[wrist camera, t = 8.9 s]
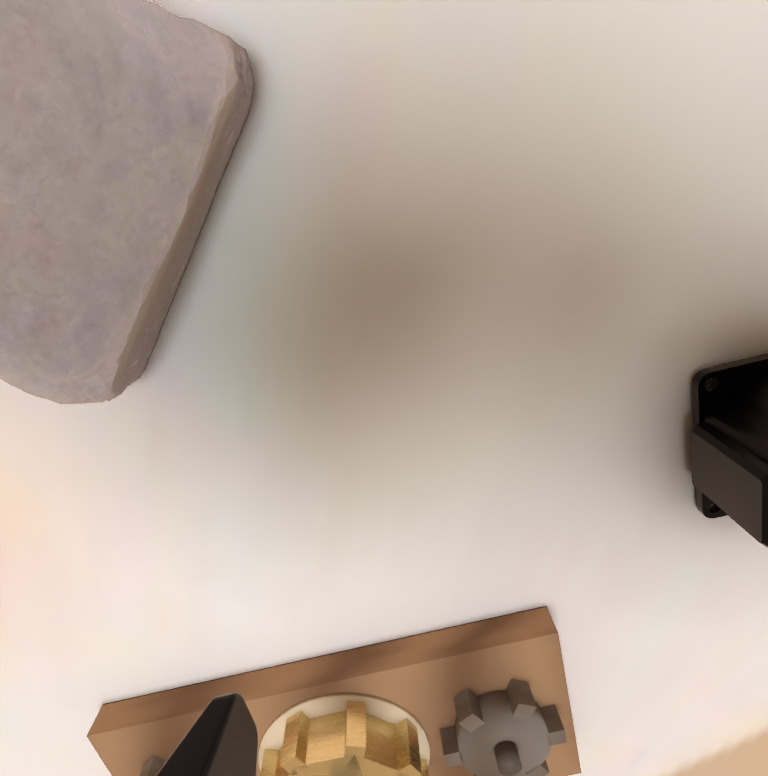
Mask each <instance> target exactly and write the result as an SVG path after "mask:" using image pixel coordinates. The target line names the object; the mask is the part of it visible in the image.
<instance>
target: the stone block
mask: <svg viewBox="0 0 768 776" xmlns="http://www.w3.org/2000/svg"><path fill="white" fill-rule="evenodd" d="M253 87H254V80H253V76H252V72H251V68H250V64H249V60H248V56H247V52H246V49H244V48H242V47H241V46H239V45H238V44H237V43H236V42H234V41H233V40H232V39H231V38H229V37H228V36H226V35H224V34H222V33H220V32H218V31H216V30H214V29H212V28H209V27H207V26H205V25H203V24H201V23H199V22H197V21H195V20H193V19H187V18H179V17H177V16H174V15H172V14H170V13H168V12H167V11H165V10H164V9H162V8H161V7H159V6H158V5H156V4H153V3H149V2H146V1H144V0H0V379H2V380H3V381H5V382H7V383H8V384H10V385H12V386H15V387H17V388H20V389H21V390H23V391H25V392H27V393H29V394H32V395H35V396H37V397H41V398H45V399H49V400H52V401H54V402H57V403H60V404H77V403H80V404H81V403H94V402H104V401H106V400H107V401H110V400H112V399H113V398H116V397H117V396H118V395H120V394H121V393H122V392H123V391H124V390H125V389H126V387H127V386H128V385H130V384H131V383H133V382H134V381H136V380H137V379H139V378H140V376H141V374H142V373H143V371H144V369H145V366H146V363H147V360H148V358H149V356H150V354H151V352H152V350H153V347H154V345H155V342H156V340H157V337H158V334H159V331H160V328H161V326H162V323H163V321H164V319H165V317H166V314H167V312H168V310H169V307H170V305H171V302H172V299H173V297H174V294H175V291H176V289H177V286H178V284H179V281H180V279H181V277H182V274H183V272H184V270H185V267H186V265H187V263H188V260H189V258H190V255H191V253H192V250H193V247H194V245H195V242H196V240H197V237H198V235H199V233H200V230H201V228H202V226H203V223H204V221H205V218H206V215H207V213H208V210H209V207H210V205H211V202H212V200H213V197H214V194H215V191H216V188H217V186H218V183H219V181H220V179H221V177H222V174H223V172H224V170H225V167H226V165H227V163H228V160H229V158H230V156H231V153H232V150H233V148H234V146H235V143H236V141H237V139H238V137H239V134H240V132H241V129H242V126H243V124H244V121H245V119H246V117H247V115H248V112H249V108H250V104H251V98H252V93H253Z"/></svg>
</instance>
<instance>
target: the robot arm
mask: <svg viewBox="0 0 768 776" xmlns="http://www.w3.org/2000/svg"><path fill="white" fill-rule="evenodd" d="M709 379H712V381H711V383H710V384H709V386H707V387H705V383H706V382H707V380H709ZM692 405H693V426H692V429H691V431H690V440H691V464H692V483H693V485H694V486H696V505H697V509H698V510H699V511H700V512H701V513H702V514H704V515H705V516H706V517H708V518H717V517H722V516H726V515H729V516H730V517H731V518H732V519H733V520H734V521H736V522H737V523H738V524H739V525H740V526H741V527H742V528H744V529H745V530H746V531H747V532H748V533H749V534H750V535H752V536H753V537H754V538H755V539H756V540H757V541H758V542H760V543H761V544H763V545H765V546H766V547H768V354H764V355H760V356H756V357H752V358H748V359H743V360H739V361H735V362H731V363H727V364H723V365H718V366H714V367H710V368H706V369H703V370H701V371H699V372H698V373H697V374H695V376H694V378H693V379H692ZM712 503H714V504H713V506H711V507H709V506H710V505H711V504H712ZM257 747H258V734H257V728H256V725H255V722H254V720H253V718H252V716H251V714H250V711H249V709H248V707H247V705H246V703H245V701H244V699H243V697H242V695H241V694H240V693H238V692H233V693H228V694H224V695H219V696H216V697H215V698H213V699H212V700H211V701H210V703H209V704H208V705H207V707H206V708H205V709H204V711H203V712H202V713H201V715H200V716H199V718H198V719H197V720H196V722H195V723H194V724H193V726H192V727H191V728H190V730H189V731H188V732H187V734H186V735H185V737H184V738H183V739H182V741H181V742H180V743H179V745H178V746H177V747H176V749H175V750H174V751H173V753H172V754H171V756H170V757H169V758H168V760H167V761H166V762H165V764H164V765H163V766H162V768H161V769H160V771H159V772H158V773H157V775H156V776H256V765H257Z"/></svg>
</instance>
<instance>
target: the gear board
mask: <svg viewBox="0 0 768 776" xmlns="http://www.w3.org/2000/svg"><path fill="white" fill-rule="evenodd" d="M233 692H238V693H240V694H241V695H242V697H243V699H244V701H245V703H246V705H247V707H248V709H249V711H250V714H251V716H252V718H253V720H254V722H255V725H256V728H257V734H258V747H257V765H256V776H260V773H261V768H262V762H263V756H264V750H265V749H276V750H279V748H280V747H281V746H282V744H283V741H284V734H285V727H286V720H287V718H289V717H291V716H292V715H294V714H296V713H297V712H299V711H302V712H303V713H304V714H305V715H307V716H308V717H309V718H314V717H319V716H324V715H328V714H333V713H337V712H342V711H346V705H347V700H349V701H363V702H366V713H368V714H370V715H373V716H375V717H378V718H380V719H383V720H385V721H388V722H390V723H393V724H397V723H399V722H401V721H403V720H404V719H406V718H407V719H408V720H409V721H410V722H411V723H412V724H413V725H414V726H415V727H416V728H417V732H418V742H419V752H420V759H427V764H428V773H429V776H568V775H573V774H578V773H581V768H580V762H579V756H578V750H577V744H576V738H575V732H574V726H573V720H572V714H571V708H570V702H569V696H568V690H567V684H566V678H565V672H564V666H563V660H562V654H561V648H560V642H559V636H558V632H557V630H556V627H555V625H554V623H553V621H552V618H551V616H550V614H549V612H548V609H547V607H542V608H538V609H533V610H529V611H524V612H519V613H515V614H510V615H506V616H501V617H497V618H492V619H488V620H483V621H479V622H474V623H470V624H465V625H461V626H456V627H452V628H447V629H443V630H438V631H434V632H429V633H425V634H420V635H416V636H411V637H407V638H402V639H398V640H393V641H389V642H384V643H380V644H375V645H371V646H366V647H362V648H357V649H353V650H348V651H344V652H339V653H335V654H330V655H326V656H321V657H317V658H312V659H308V660H303V661H299V662H294V663H290V664H285V665H281V666H276V667H272V668H267V669H263V670H258V671H254V672H249V673H245V674H240V675H236V676H231V677H227V678H222V679H217V680H213V681H208V682H204V683H199V684H195V685H190V686H186V687H181V688H177V689H172V690H168V691H163V692H159V693H154V694H150V695H145V696H141V697H136V698H132V699H127V700H123V701H118V702H114V703H109V704H105V705H102V707H101V709H100V711H99V713H98V715H97V717H96V719H95V721H94V723H93V725H92V727H91V729H90V731H89V733H88V735H87V737H88V739H89V740H90V742H91V743H92V745H93V747H94V748H95V750H96V751H97V753H98V754H99V756H100V758H101V759H102V761H103V762H104V764H105V765H106V767H107V769H108V770H109V772H110V773H111V775H112V776H156V775H157V773H158V772H159V771H160V769H161V768H162V766H163V765H164V764H165V762H166V761H167V760H168V758H169V757H170V756H171V754H172V753H173V751H174V750H175V749H176V747H177V746H178V745H179V743H180V742H181V741H182V739H183V738H184V737H185V735H186V734H187V732H188V731H189V730H190V728H191V727H192V726H193V724H194V723H195V722H196V720H197V719H198V718H199V716H200V715H201V713H202V712H203V711H204V709H205V708H206V707H207V705H208V704H209V703H210V701H211V700H212V699H213V698H215V697H216V696H219V695H224V694H228V693H233Z"/></svg>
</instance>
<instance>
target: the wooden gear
mask: <svg viewBox="0 0 768 776" xmlns="http://www.w3.org/2000/svg"><path fill="white" fill-rule="evenodd" d="M260 776H429V773H428V764H427V759H420V752H419V742H418V732H417V728H416V727H415V726H414V725H413V724H412V723H411V722H410V721H409V720H408V719H407V718H406V719H404V720H403V721H401V722H399V723H397V724H393V723H390V722H388V721H385V720H383V719H380V718H378V717H375V716H373V715H370V714H368V713H366V702H363V701H349V700H347V705H346V711H342V712H337V713H333V714H328V715H324V716H319V717H314V718H309V717H308V716H307V715H305V714H304V713H303V712H302V711H299V712H297V713H296V714H294V715H292V716H291V717H289V718H287V720H286V727H285V734H284V741H283V744H282V746H281V747H280V748H279V750H276V749H265V750H264V756H263V762H262V768H261V773H260Z"/></svg>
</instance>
